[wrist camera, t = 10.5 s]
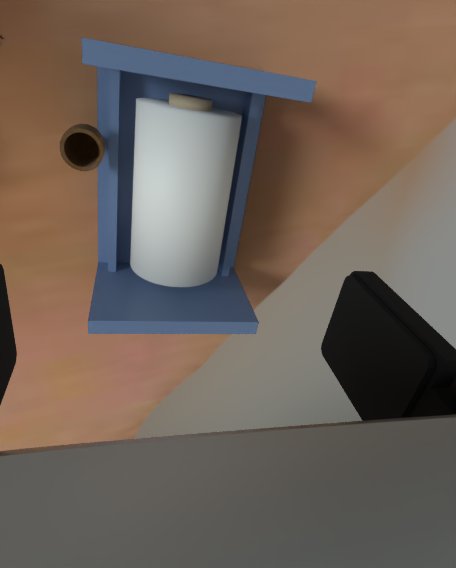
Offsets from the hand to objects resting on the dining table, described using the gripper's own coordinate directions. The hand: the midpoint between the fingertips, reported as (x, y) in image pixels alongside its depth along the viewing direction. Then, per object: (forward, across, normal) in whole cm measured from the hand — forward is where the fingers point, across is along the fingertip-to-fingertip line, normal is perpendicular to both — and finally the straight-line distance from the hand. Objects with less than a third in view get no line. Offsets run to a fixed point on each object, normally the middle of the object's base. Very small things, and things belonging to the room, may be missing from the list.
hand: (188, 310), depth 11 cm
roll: (+20, -2, +2) cm, 20 cm away
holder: (+21, -2, +2) cm, 21 cm away
